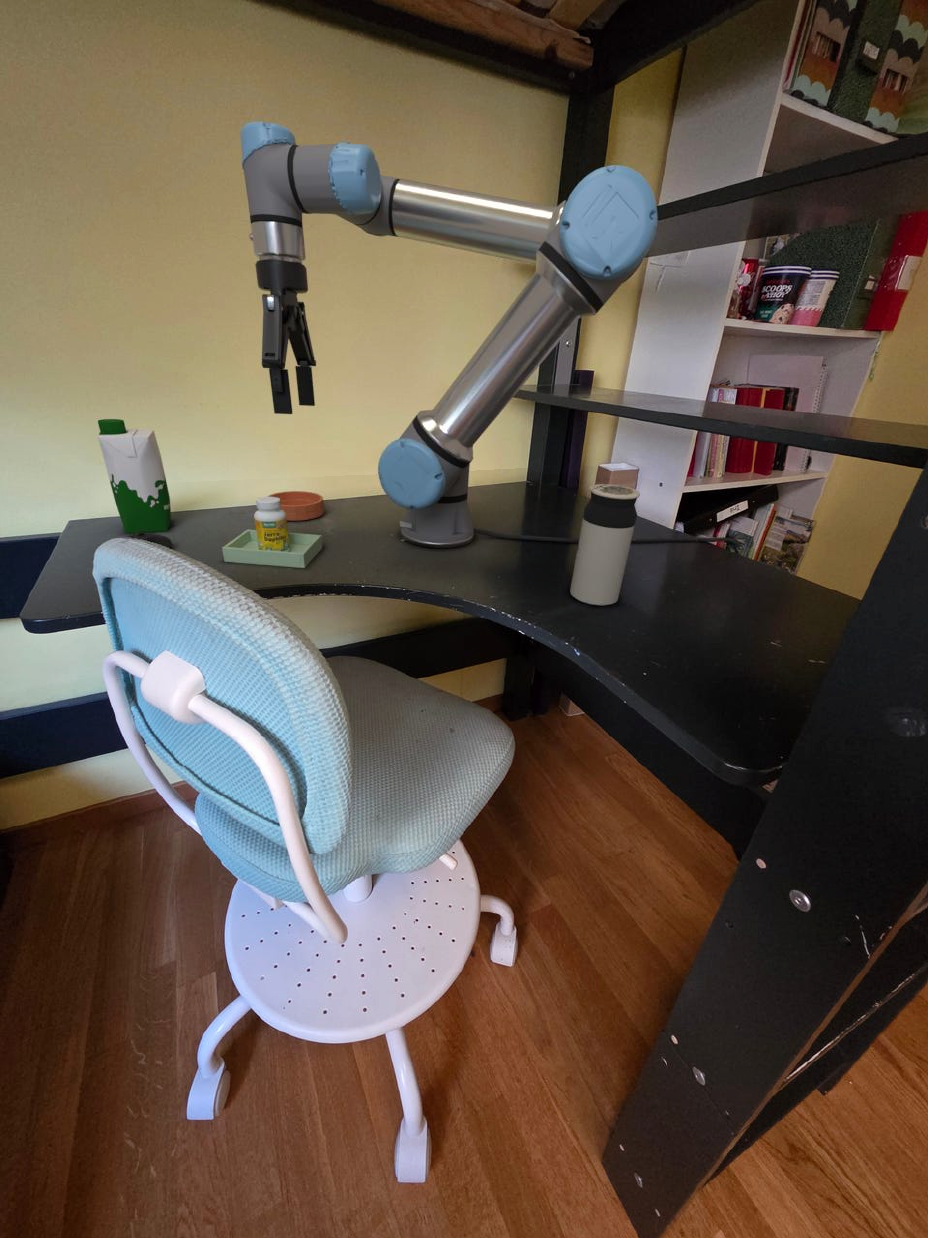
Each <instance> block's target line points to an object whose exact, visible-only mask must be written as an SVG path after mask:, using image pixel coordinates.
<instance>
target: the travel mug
mask: <svg viewBox="0 0 928 1238" xmlns="http://www.w3.org/2000/svg"><path fill="white" fill-rule="evenodd" d="M589 491H590V500H589V501H588V502H587V504H586V505H585V507H584V510H583V516H582V522H581V527H580V533H579V538H578V539H579V543H577V550H576V555H575V561H574V566H573V571H572V572H573V573H572V577H571V583H570V589H569V593H570V595H571V596H572V597H573V598H575V599H576V600H577V601H579V602H581V603H584V604H588V605H592V606H609V605H614V604H615V603H617V602H618V600H619V597H620V591H621V588H622V584H623V579H624V575H625V570H626V566H627V562H628V557H629V552H630V548H631V544H632V543H631V540H632V538H633V535H634V531H635V526H636V521H637V517H638V513H637V509H636V506H635V505H636V502H637V500H638V498H639V497H640V496H641V493H640V491H639V490H637V489H635V488H632V487H629V486H625V485H619V484H613V483H612V484H611V483H597V484H593V485H591V486H590V487H589Z"/></svg>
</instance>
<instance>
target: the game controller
mask: <svg viewBox="0 0 928 1238" xmlns="http://www.w3.org/2000/svg"><path fill="white" fill-rule="evenodd" d="M126 537H131V538H137V539H143V540H147V541H150V542H154V543H157V544H161V545H163V546H166V547H169V548H170V549H171V548H172V547H173V542H172V540H171V538H169V537H168V536H164V535H161V534H155V533H145V532H138V533H130V534H129V535H127V536H126Z"/></svg>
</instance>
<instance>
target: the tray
mask: <svg viewBox="0 0 928 1238" xmlns="http://www.w3.org/2000/svg"><path fill="white" fill-rule="evenodd" d="M288 536H289V544H290V550H289V552H283V551H271V550H259V547H258V540H257V533H256V529H246V530H245V531H243V532H242V533H240V534H239V535H238V536H236V537H235V538H234V539H231V541H229V542H228V543H227V544H225V545H224V546H222V548H221V549H222V555H223V560H224V561H223V562H225V563H237V564H248V565H262V566H273V567H285V568H286V567H287V568H298V569H300V568H301V569H306V568H307V566H308V565H310V563H311V562H312V560H314V558H315V557H316V556H317V555H318V554H319V552H321V550H322V549H323V538H322V535H321V534H312V533H311V534H310V533H299V532H288Z"/></svg>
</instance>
